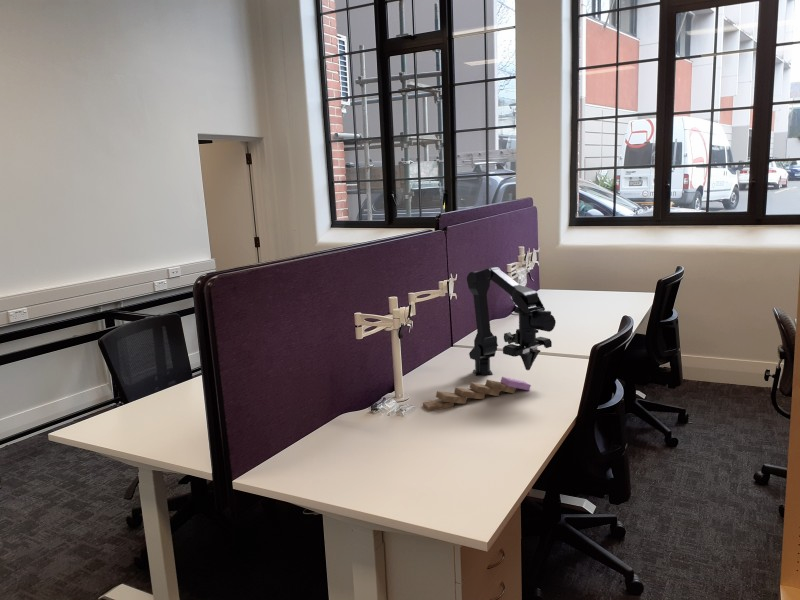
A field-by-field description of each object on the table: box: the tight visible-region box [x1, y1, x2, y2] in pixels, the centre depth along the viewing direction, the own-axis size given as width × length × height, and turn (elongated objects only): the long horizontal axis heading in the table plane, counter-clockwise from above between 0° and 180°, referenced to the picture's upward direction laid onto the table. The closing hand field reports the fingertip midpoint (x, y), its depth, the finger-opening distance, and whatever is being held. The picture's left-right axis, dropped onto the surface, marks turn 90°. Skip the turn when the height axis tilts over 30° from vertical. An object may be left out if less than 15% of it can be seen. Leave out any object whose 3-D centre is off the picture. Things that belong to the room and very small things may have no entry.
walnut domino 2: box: [435, 390, 468, 405], centre depth 202 cm, size 2×5×9 cm
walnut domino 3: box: [453, 386, 486, 400], centre depth 206 cm, size 2×5×9 cm
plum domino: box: [500, 376, 532, 391], centre depth 213 cm, size 2×5×9 cm
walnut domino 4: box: [468, 381, 501, 397], centre depth 209 cm, size 2×5×9 cm
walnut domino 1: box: [422, 398, 455, 412], centre depth 202 cm, size 2×5×9 cm
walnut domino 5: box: [484, 379, 517, 394], centre depth 211 cm, size 2×5×9 cm
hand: (527, 370), depth 214 cm, fingers closed
